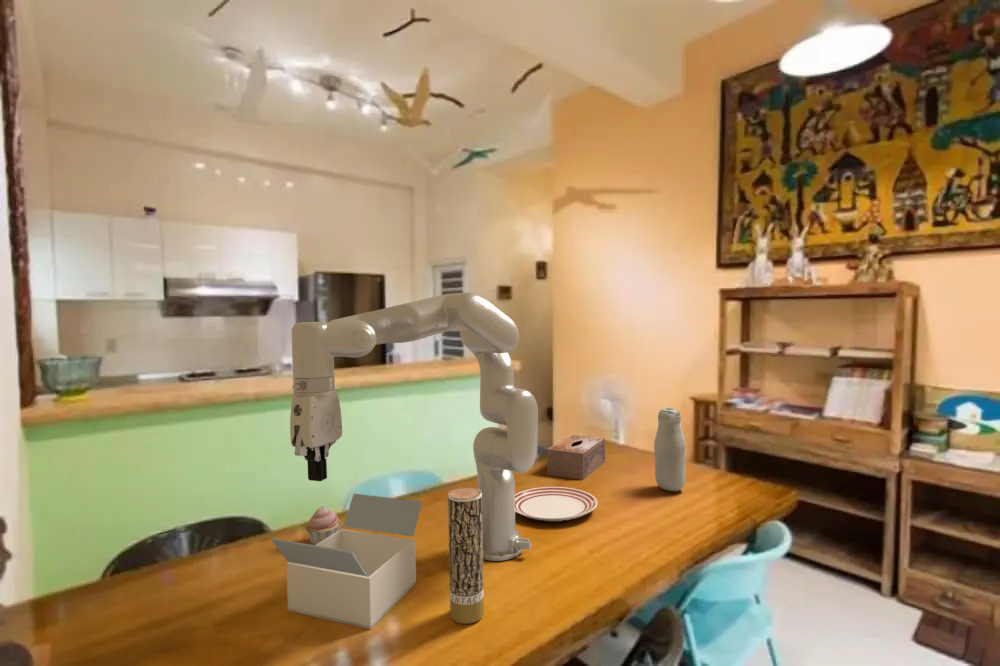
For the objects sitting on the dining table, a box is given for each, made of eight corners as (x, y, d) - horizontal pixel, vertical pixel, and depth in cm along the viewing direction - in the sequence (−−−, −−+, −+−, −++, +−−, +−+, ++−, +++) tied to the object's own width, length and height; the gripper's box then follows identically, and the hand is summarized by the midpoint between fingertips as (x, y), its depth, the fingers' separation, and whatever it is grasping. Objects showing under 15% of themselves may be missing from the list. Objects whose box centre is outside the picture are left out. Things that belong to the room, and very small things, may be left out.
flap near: (288, 560, 106) (287, 561, 105) (271, 538, 101) (271, 539, 101) (366, 574, 99) (366, 576, 99) (352, 551, 95) (351, 553, 95)
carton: (416, 583, 116) (415, 539, 116) (370, 629, 100) (369, 578, 99) (342, 569, 123) (341, 528, 123) (288, 611, 106) (286, 563, 106)
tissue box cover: (583, 480, 187) (583, 453, 187) (547, 475, 194) (546, 449, 194) (605, 462, 210) (604, 438, 209) (571, 458, 217) (571, 434, 216)
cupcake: (348, 536, 142) (347, 501, 141) (330, 552, 133) (329, 514, 132) (318, 534, 144) (317, 499, 143) (298, 549, 135) (297, 511, 134)
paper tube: (450, 607, 107) (448, 488, 106) (483, 605, 107) (481, 486, 106) (450, 626, 100) (447, 500, 99) (484, 624, 100) (482, 498, 100)
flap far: (412, 536, 116) (413, 536, 117) (421, 501, 120) (422, 502, 120) (343, 526, 123) (343, 526, 123) (353, 493, 127) (354, 493, 127)
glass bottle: (688, 488, 177) (688, 407, 176) (681, 497, 168) (681, 412, 167) (659, 483, 182) (659, 404, 181) (651, 492, 173) (650, 409, 172)
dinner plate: (494, 521, 152) (494, 510, 151) (525, 491, 177) (525, 481, 177) (586, 534, 141) (586, 522, 141) (605, 500, 167) (605, 490, 166)
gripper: (303, 392, 91) (307, 494, 92) (353, 381, 105) (356, 469, 106) (269, 391, 93) (273, 490, 94) (323, 380, 107) (326, 466, 108)
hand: (317, 479), depth 100 cm, fingers closed
